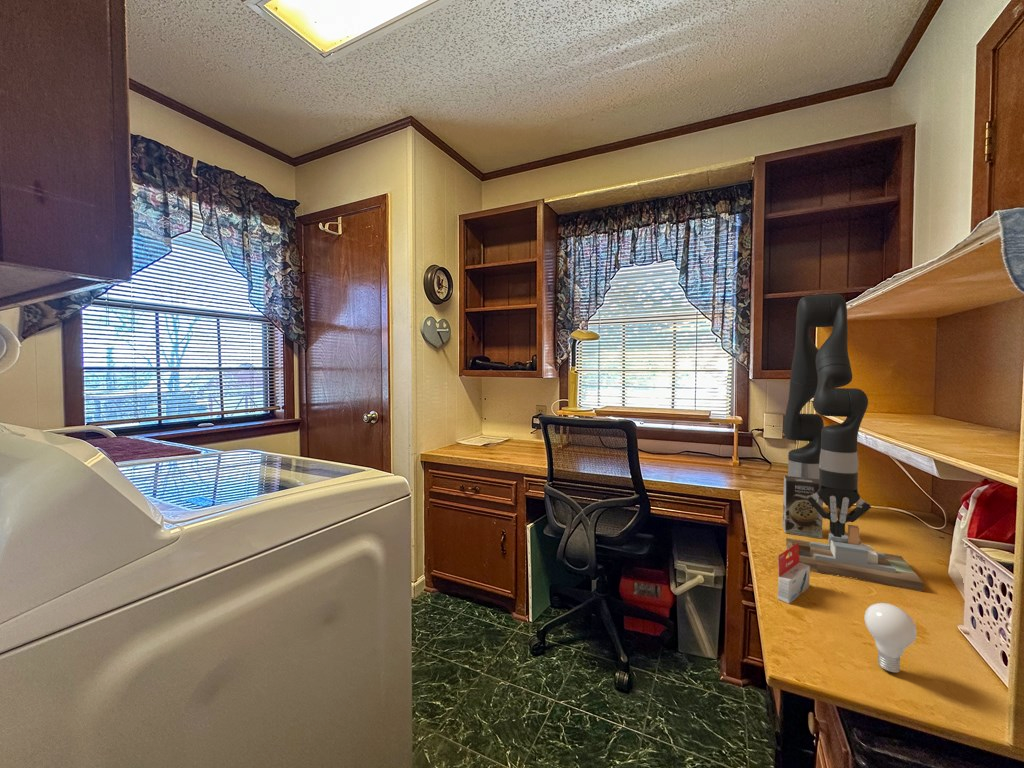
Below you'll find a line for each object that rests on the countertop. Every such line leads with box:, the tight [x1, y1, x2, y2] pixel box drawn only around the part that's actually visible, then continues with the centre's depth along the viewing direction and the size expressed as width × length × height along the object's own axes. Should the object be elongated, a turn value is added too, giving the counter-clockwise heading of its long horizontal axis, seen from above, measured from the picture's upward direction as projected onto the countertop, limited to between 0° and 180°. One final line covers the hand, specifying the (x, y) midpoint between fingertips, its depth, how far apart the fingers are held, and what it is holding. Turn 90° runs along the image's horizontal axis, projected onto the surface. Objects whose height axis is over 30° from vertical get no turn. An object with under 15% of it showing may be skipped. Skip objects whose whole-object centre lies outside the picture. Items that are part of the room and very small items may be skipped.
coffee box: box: [782, 475, 824, 539], centre depth 121 cm, size 9×6×16 cm
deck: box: [785, 537, 925, 593], centre depth 102 cm, size 14×24×2 cm, turn 61°
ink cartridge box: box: [777, 542, 811, 604], centre depth 90 cm, size 2×11×10 cm, turn 125°
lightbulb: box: [863, 602, 918, 673], centre depth 67 cm, size 6×6×11 cm
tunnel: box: [809, 532, 896, 573], centre depth 101 cm, size 9×15×4 cm, turn 61°
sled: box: [831, 524, 878, 564], centre depth 101 cm, size 6×8×8 cm
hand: (836, 535), depth 102 cm, fingers closed
